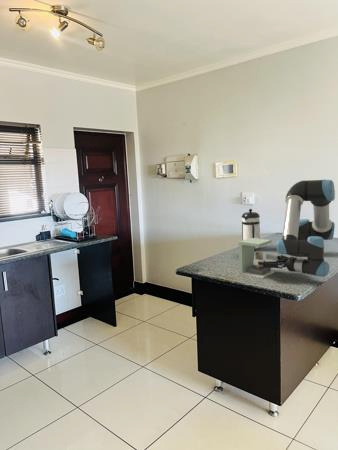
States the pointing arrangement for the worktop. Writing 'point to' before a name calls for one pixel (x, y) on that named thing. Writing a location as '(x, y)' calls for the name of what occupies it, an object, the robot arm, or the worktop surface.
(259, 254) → the peg
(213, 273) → the worktop surface
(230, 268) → the worktop surface
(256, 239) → the awning socket
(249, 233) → the coffee press
